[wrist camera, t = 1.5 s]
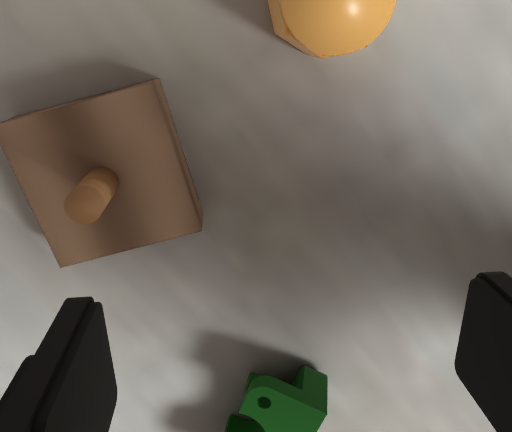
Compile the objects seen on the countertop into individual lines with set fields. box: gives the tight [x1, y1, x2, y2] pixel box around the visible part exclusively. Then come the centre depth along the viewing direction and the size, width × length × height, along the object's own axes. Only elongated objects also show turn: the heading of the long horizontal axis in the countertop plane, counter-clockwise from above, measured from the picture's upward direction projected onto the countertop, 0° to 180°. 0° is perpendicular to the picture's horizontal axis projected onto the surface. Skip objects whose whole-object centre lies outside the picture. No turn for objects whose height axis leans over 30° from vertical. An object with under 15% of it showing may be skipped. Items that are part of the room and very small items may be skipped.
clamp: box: [225, 365, 327, 432], centre depth 38 cm, size 12×6×9 cm, turn 152°
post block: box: [0, 78, 203, 268], centre depth 28 cm, size 10×10×8 cm
